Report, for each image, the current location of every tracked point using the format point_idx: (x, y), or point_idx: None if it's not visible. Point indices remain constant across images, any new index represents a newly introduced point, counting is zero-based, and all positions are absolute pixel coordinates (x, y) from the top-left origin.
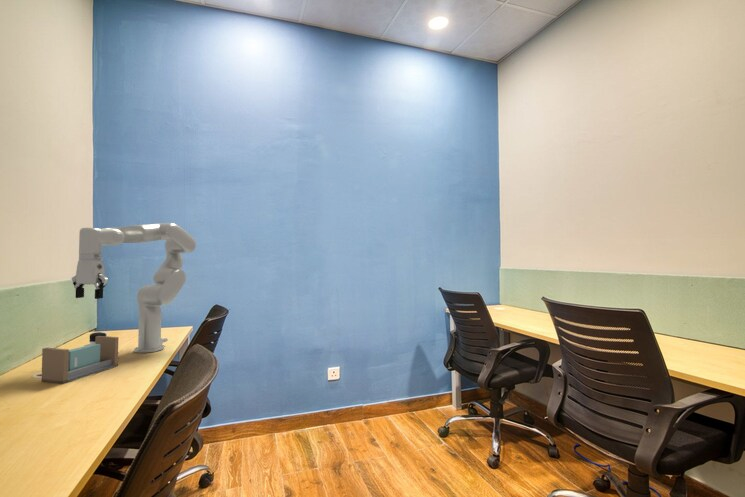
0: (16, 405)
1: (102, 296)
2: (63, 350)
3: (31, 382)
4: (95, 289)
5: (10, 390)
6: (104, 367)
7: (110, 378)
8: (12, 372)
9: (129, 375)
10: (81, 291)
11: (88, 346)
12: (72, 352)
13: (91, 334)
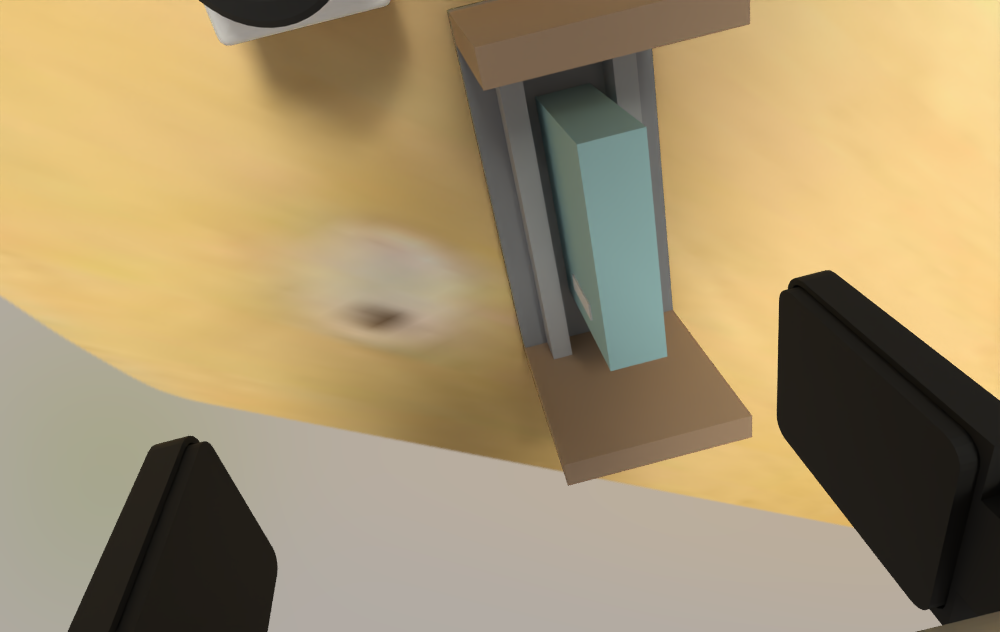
0: (745, 485)
1: (847, 296)
2: (744, 438)
3: (493, 383)
4: (961, 618)
5: (537, 456)
6: (646, 82)
7: (827, 159)
8: (171, 375)
9: (896, 69)
10: (196, 629)
11: (631, 222)
12: (664, 340)
13: (253, 13)
